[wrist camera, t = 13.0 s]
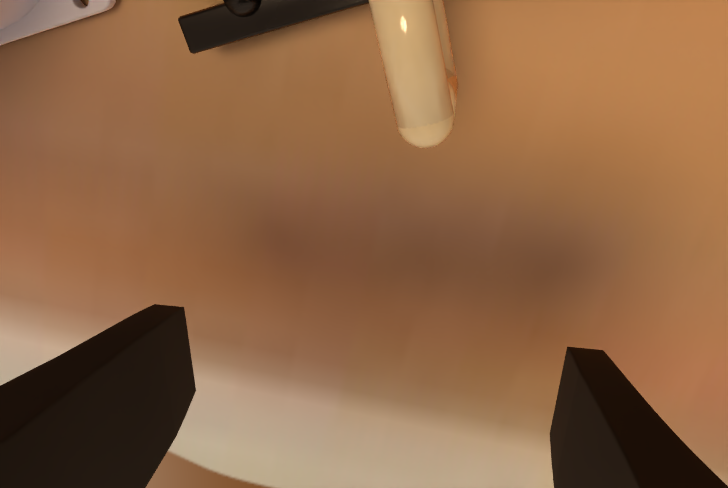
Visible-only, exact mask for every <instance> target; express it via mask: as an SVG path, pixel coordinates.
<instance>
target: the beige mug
mask: <svg viewBox="0 0 728 488" xmlns="http://www.w3.org/2000/svg"><path fill="white" fill-rule="evenodd" d="M368 1H369V6H370V10H371V15H372V19H373V23H374V28H375V32H376V37H377V41H378V46H379V50H380V54H381V59H382V63H383V68H384V72H385V77H386V81H387V85H388V90H389V94H390V99H391V103H392V108H393V112H394V116H395V121H396V125H397V129H398V131H399V133H400V135H401V136H402V138H403V139H404V140H405V141H406V142H407V143H409V144H410V145H413V146H415V147H418V148H431V147H434V146H437V145H439V144H441V143H442V142H443V141H444V140H445V139H446V138H447V137H448V136H449V134H450V132H451V131H452V128H453V125H454V118H455V108H456V98H457V88H458V82H457V76H456V70H455V65H454V59H453V53H452V48H451V42H450V37H449V31H448V25H447V20H446V14H445V9H444V3H443V0H368Z"/></svg>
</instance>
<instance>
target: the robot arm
mask: <svg viewBox="0 0 728 488" xmlns="http://www.w3.org/2000/svg"><path fill="white" fill-rule="evenodd" d="M115 2H116V0H89V3H88V6H85V5H83V3H82V2H81V0H0V45H3V44H6V43H9V42H12V41H15V40H18V39H22V38H25V37H28V36H31V35H34V34H37V33H40V32H43V31H46V30H49V29H52V28H55V27H58V26H62V25H65V24H68V23H71V22H74V21H77V20H80V19H83V18H86V17H89V16H92V15H95V14H98V13H102V12H105V11H108V10H109V9H111V8H113V6H114V4H115ZM195 391H196V388H195V381H194V374H193V367H192V360H191V353H190V346H189V339H188V332H187V325H186V318H185V311H184V307H176V306H166V305H157V304H154V305H152V306H150V307H148V308H146V309H144V310H142V311H140V312H138V313H136V314H134V315H132V316H130V317H128V318H126V319H124V320H123V321H121V322H119V323H117V324H115V325H114V326H112V327H110V328H108V329H106V330H105V331H103V332H101V333H99V334H98V335H96V336H94V337H92V338H90V339H89V340H87V341H85V342H83V343H81V344H79V345H78V346H76V347H74V348H72V349H70V350H69V351H67V352H65V353H63V354H61V355H60V356H58V357H56V358H54V359H52V360H50V361H48V362H46V363H44V364H42V365H40V366H38V367H36V368H34V369H32V370H30V371H28V372H26V373H24V374H22V375H20V376H19V377H17V378H15V379H13V380H11V381H9V382H7V383H5V384H3V385H1V386H0V488H145V487H146V486H147V484H148V482H149V481H150V479H151V478H152V476H153V474H154V473H155V471H156V469H157V468H158V466H159V464H160V463H161V461H162V459H163V457H164V456H165V454H166V453H167V451H168V449H169V448H170V446H171V444H172V442H173V441H174V439H175V437H176V435H177V433H178V431H179V429H180V427H181V424H182V422H183V420H184V418H185V416H186V413H187V411H188V408H189V406H190V403H191V401H192V399H193V396H194V394H195ZM550 443H551V458H552V470H553V481H554V488H728V486H727V485H726V484H725V483H724V482H723V481H722V480H721V479H720V478H719V477H718V476H716V475H715V474H714V473H713V472H712V471H711V470H710V469H709V468H708V467H707V466H706V465H705V464H704V463H703V462H702V461H701V460H700V459H699V458H698V457H697V456H696V455H695V454H694V453H693V452H692V451H691V450H690V449H689V448H688V447H687V446H686V444H685V443H684V442H683V441H682V440H681V439H680V438H679V437H678V436H677V435H676V434H675V433H674V432H673V431H672V430H671V429H670V427H669V426H668V425H667V424H666V423H665V422H664V421H663V420H662V419H661V418H660V416H659V415H658V414H657V413H656V412H655V411H654V410H653V409H652V407H651V406H650V405H649V404H648V403H647V402H646V400H645V399H644V398H643V397H642V396H641V395H640V393H639V392H638V391H637V390H636V389H635V388H634V386H633V385H632V384H631V383H630V382H629V380H628V379H627V378H626V377H625V376H624V374H623V373H622V372H621V371H620V370H619V369H618V367H617V366H616V365H615V364H614V363H613V361H612V360H611V359H610V358H609V357H608V355H607V354H606V353H605V352H604V351H603V350H595V349H585V348H575V347H567V351H566V356H565V361H564V366H563V371H562V376H561V381H560V386H559V391H558V396H557V401H556V406H555V411H554V416H553V420H552V425H551V430H550Z"/></svg>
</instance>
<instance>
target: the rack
mask: <svg viewBox="0 0 728 488" xmlns="http://www.w3.org/2000/svg"><path fill="white" fill-rule="evenodd" d="M223 1H224V3H222V4H219V5H215V6H212V7H209V8H206V9H203V10H199V11H196V12H193V13H190V14H186V15H183V16H180V17H179V18H178V21H179V24H180V26H181V29H182V31H183V34H184V37H185V39H186V42H187V45H188V47H189V50H190V52H191V53H194V54H195V53H198V52H201V51H205V50H208V49H212V48H215V47H219V46H222V45H226V44H229V43H232V42H236V41H239V40H243V39H246V38H250V37H253V36H257V35H260V34H263V33H267V32H270V31H274V30H277V29H281V28H284V27H288V26H291V25H294V24H298V23H301V22H305V21H308V20H312V19H315V18H319V17H322V16H325V15H329V14H332V13H336V12H339V11H343V10H346V9H350V8H353V7H356V6H360V5H363V4H367V3H369V1H368V0H223Z"/></svg>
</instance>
